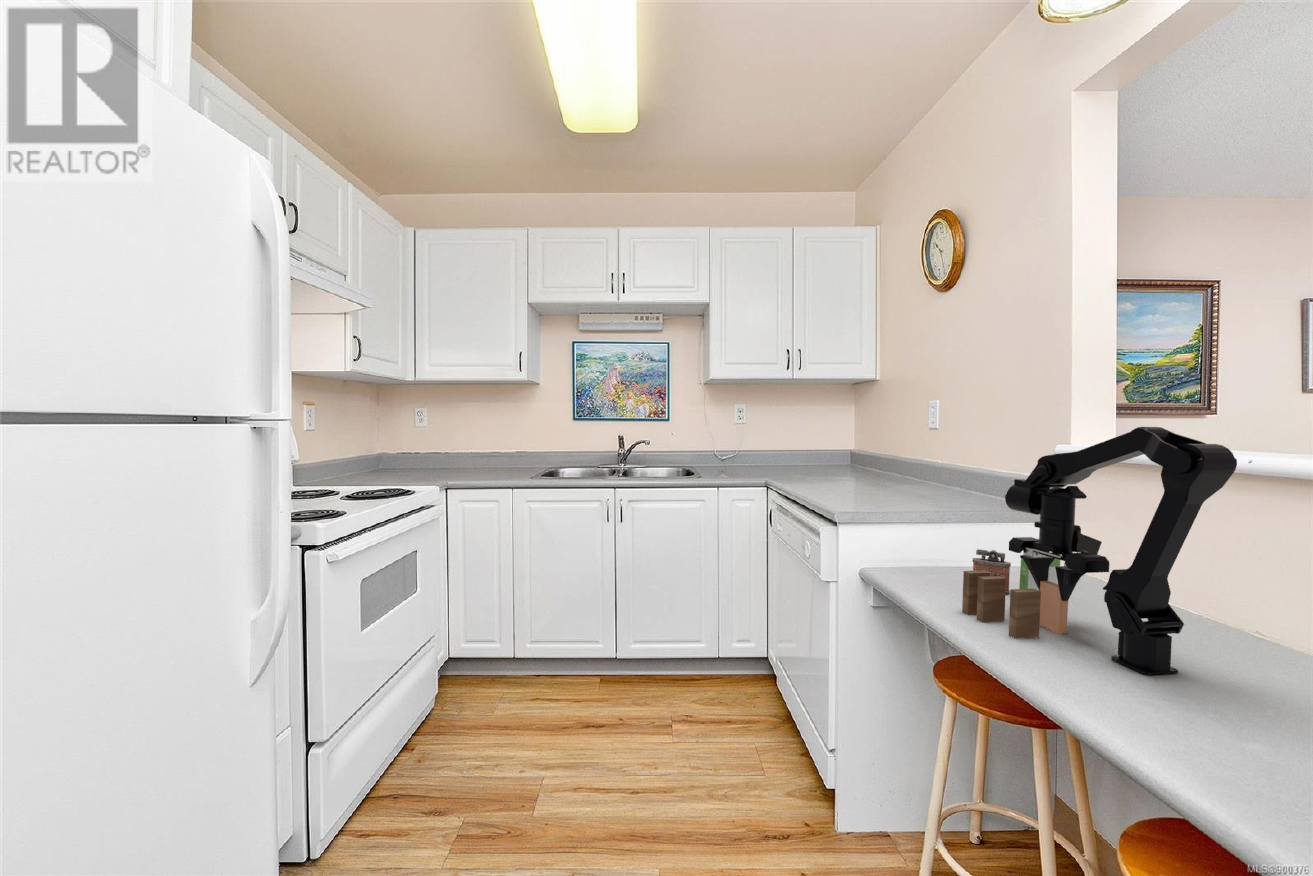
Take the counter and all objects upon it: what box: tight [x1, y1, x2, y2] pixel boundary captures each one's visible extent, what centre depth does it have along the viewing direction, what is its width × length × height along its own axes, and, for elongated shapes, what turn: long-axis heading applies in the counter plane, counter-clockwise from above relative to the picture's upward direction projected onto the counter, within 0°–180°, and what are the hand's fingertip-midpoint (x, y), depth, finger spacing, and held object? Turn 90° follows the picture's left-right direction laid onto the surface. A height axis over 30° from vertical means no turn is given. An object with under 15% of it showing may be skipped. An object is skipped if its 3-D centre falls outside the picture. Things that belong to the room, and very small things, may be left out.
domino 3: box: [1008, 588, 1041, 640], centre depth 114 cm, size 2×5×9 cm, turn 99°
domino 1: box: [961, 570, 990, 616], centre depth 127 cm, size 2×5×9 cm, turn 99°
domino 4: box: [1039, 581, 1069, 635], centre depth 118 cm, size 2×5×9 cm, turn 9°
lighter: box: [972, 548, 1012, 596], centre depth 144 cm, size 8×3×10 cm, turn 58°
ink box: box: [1018, 554, 1061, 590], centre depth 138 cm, size 7×4×13 cm, turn 84°
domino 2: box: [976, 576, 1006, 623], centre depth 123 cm, size 2×5×9 cm, turn 99°
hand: (1053, 596), depth 118 cm, fingers closed on domino 4, 5 cm apart
